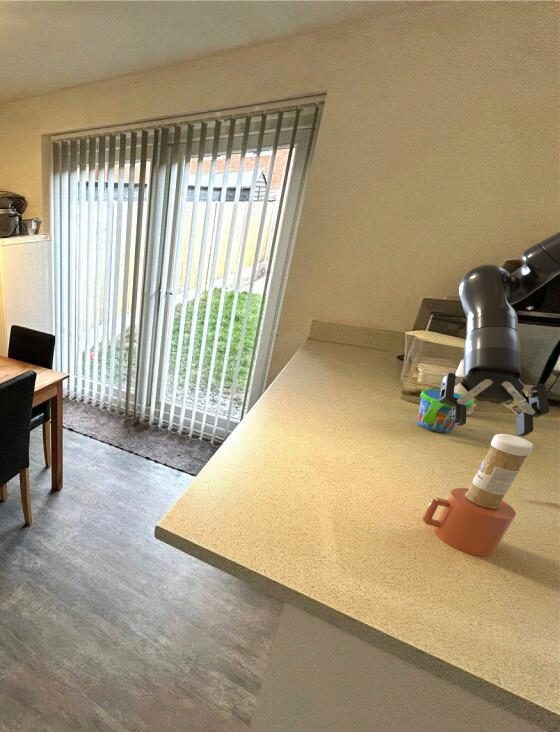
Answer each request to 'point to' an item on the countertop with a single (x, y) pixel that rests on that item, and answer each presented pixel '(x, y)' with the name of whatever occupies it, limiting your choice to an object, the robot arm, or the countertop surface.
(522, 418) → the robot arm
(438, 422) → the snack cup
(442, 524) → the upturned cup
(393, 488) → the countertop surface
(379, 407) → the countertop surface
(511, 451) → the brown spice jar
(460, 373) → the aerosol can
